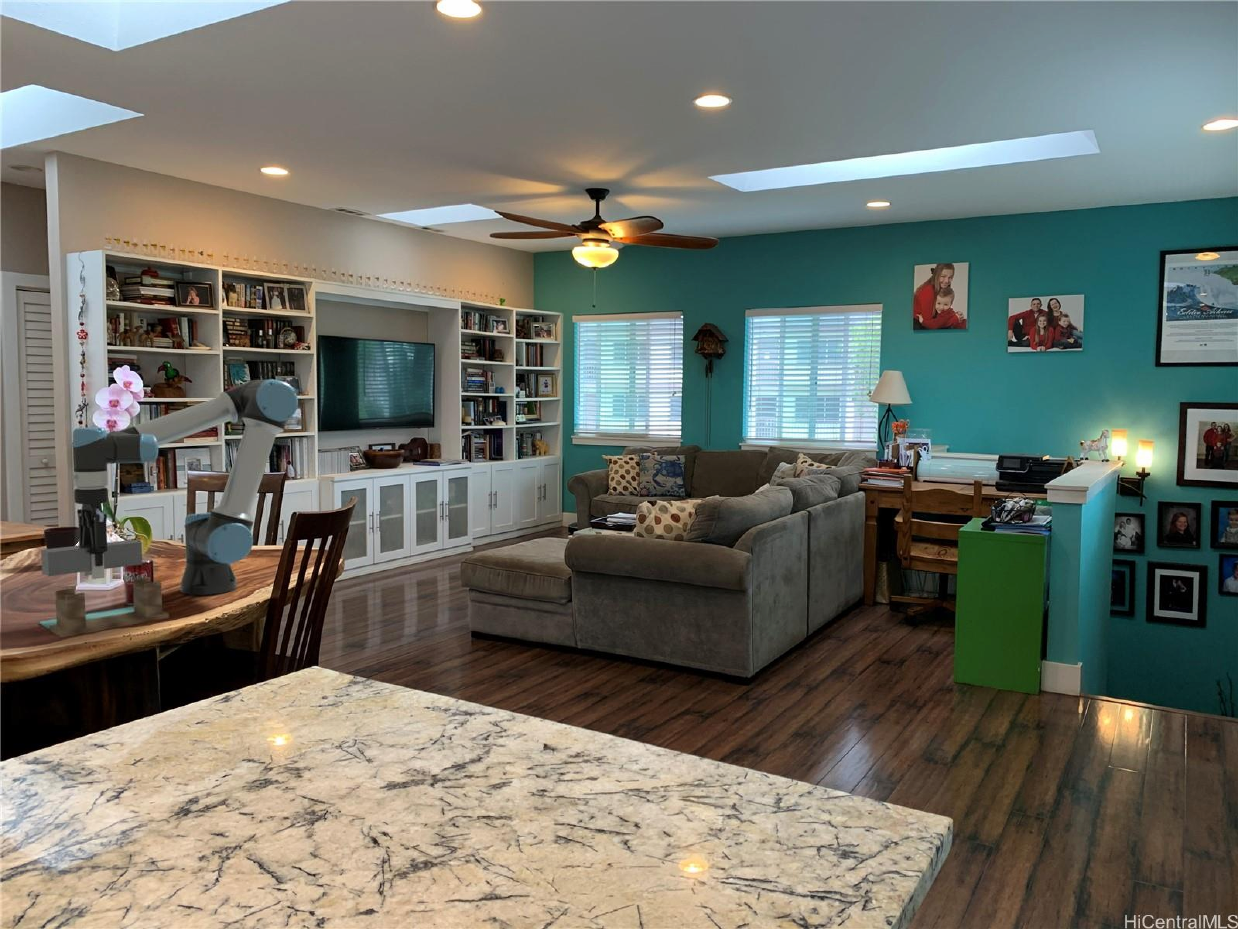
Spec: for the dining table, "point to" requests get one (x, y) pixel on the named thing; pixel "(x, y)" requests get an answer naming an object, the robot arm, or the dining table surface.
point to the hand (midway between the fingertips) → (94, 576)
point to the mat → (93, 615)
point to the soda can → (137, 577)
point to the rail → (80, 558)
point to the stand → (75, 622)
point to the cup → (61, 537)
